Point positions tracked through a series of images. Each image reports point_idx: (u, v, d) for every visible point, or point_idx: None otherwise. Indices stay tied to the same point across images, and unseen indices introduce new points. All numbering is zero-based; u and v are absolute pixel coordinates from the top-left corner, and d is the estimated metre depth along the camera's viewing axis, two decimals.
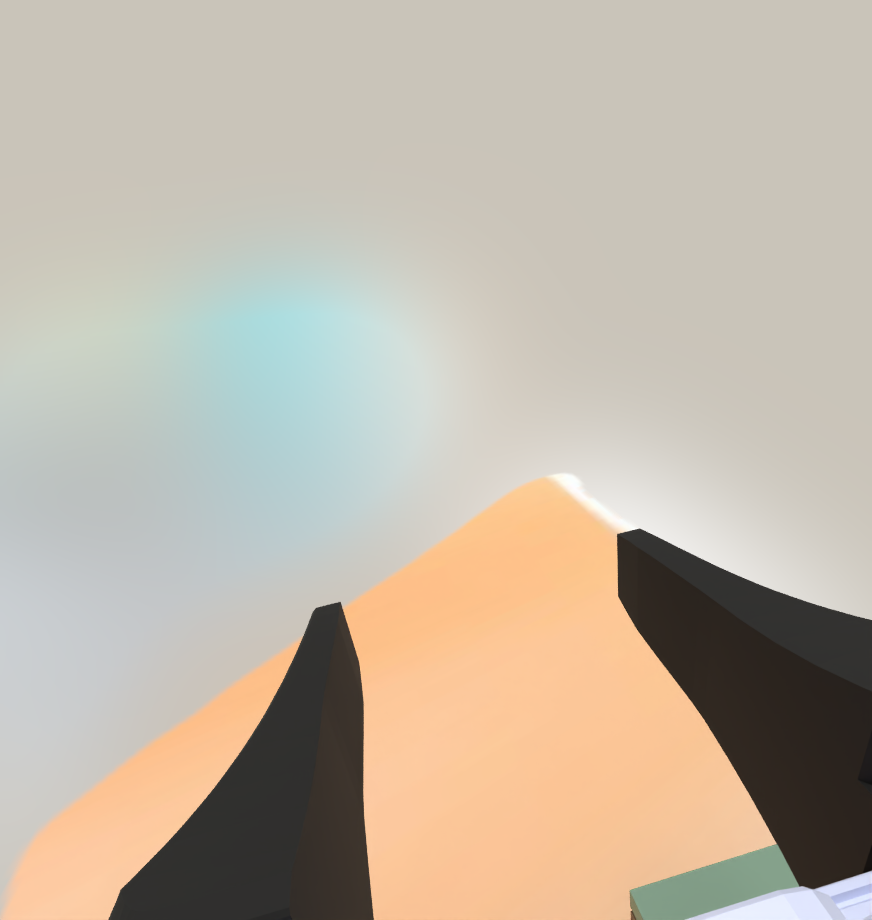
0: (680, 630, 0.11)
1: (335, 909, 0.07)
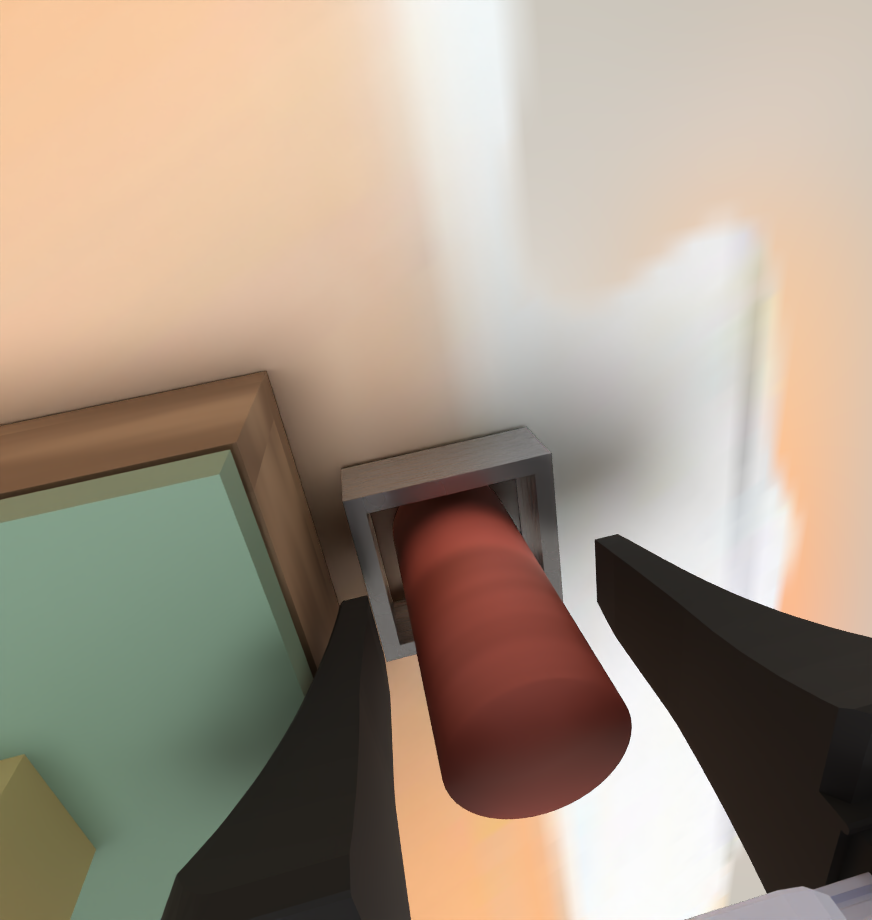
0: (654, 637, 0.11)
1: (382, 895, 0.07)
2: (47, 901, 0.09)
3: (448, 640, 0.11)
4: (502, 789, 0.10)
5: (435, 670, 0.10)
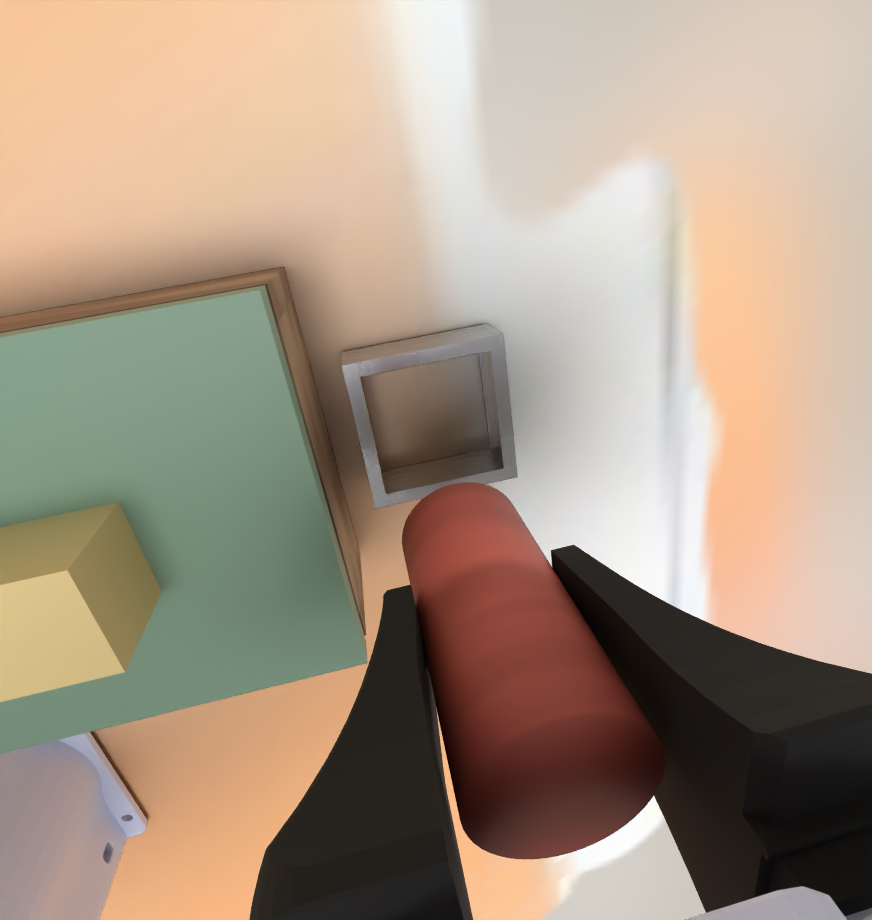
0: (604, 650, 0.11)
1: (457, 873, 0.07)
2: (135, 599, 0.14)
3: (465, 665, 0.10)
4: (524, 829, 0.09)
5: (451, 698, 0.10)
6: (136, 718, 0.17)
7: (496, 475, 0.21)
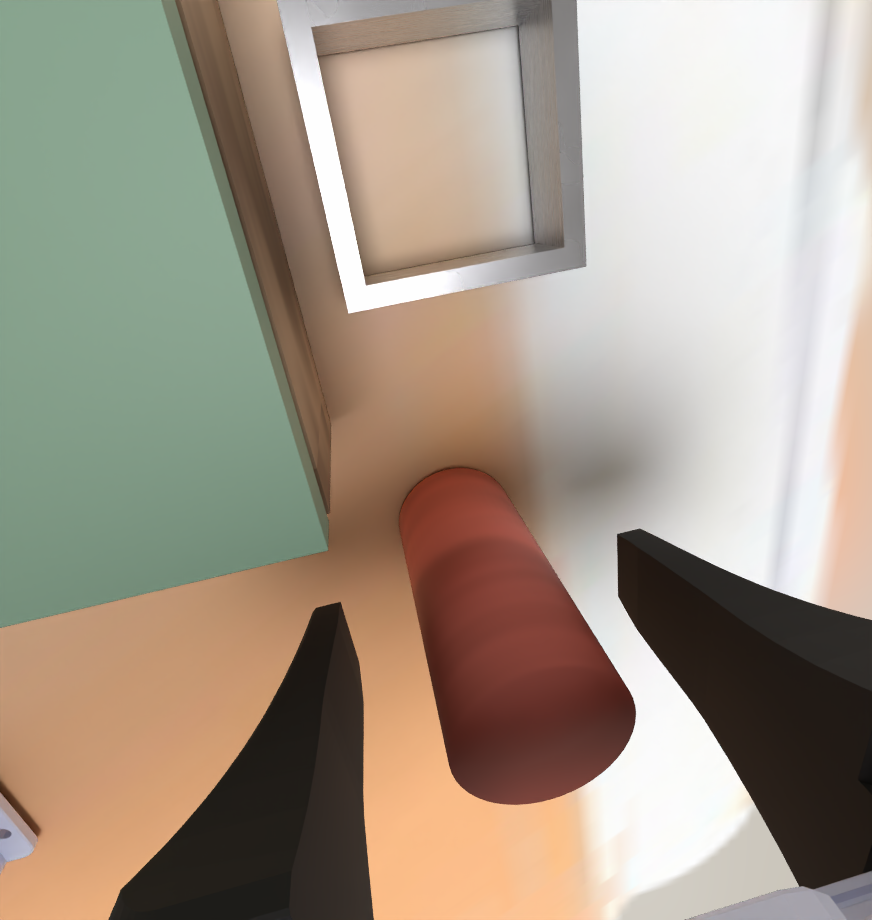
0: (680, 630, 0.11)
1: (335, 909, 0.07)
2: None
3: (455, 628, 0.11)
4: (507, 774, 0.10)
5: (442, 658, 0.11)
6: None
7: (551, 261, 0.12)
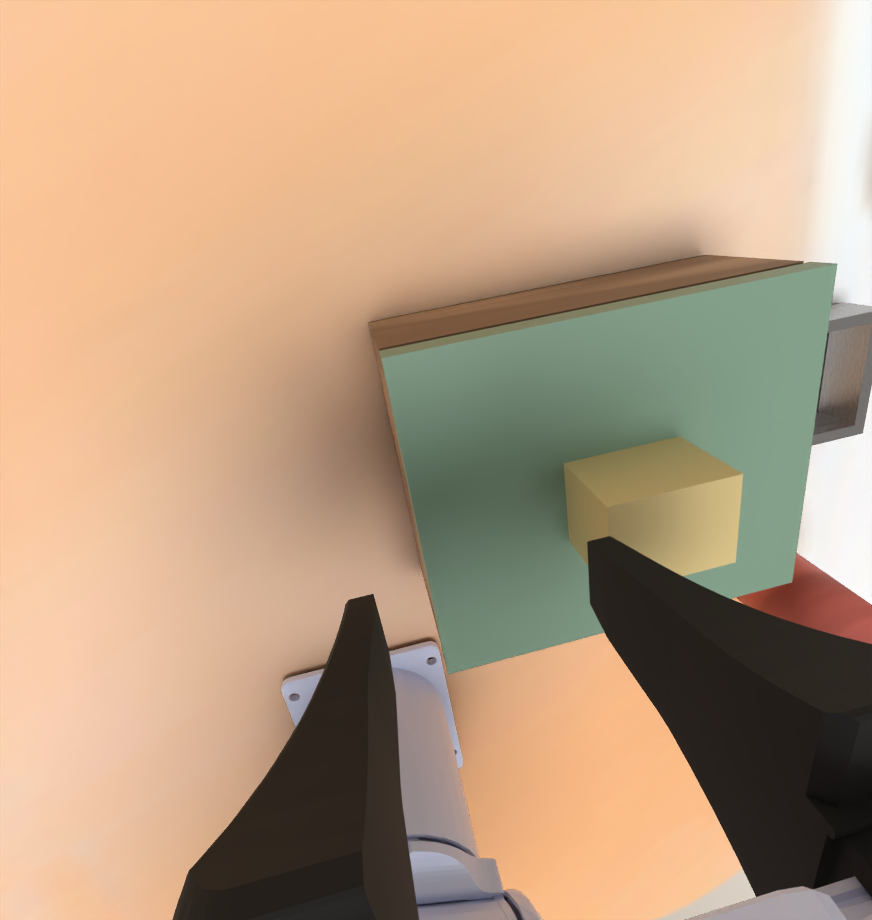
0: (645, 639, 0.11)
1: (392, 892, 0.07)
2: None
3: (825, 617, 0.22)
4: None
5: None
6: None
7: (847, 431, 0.24)
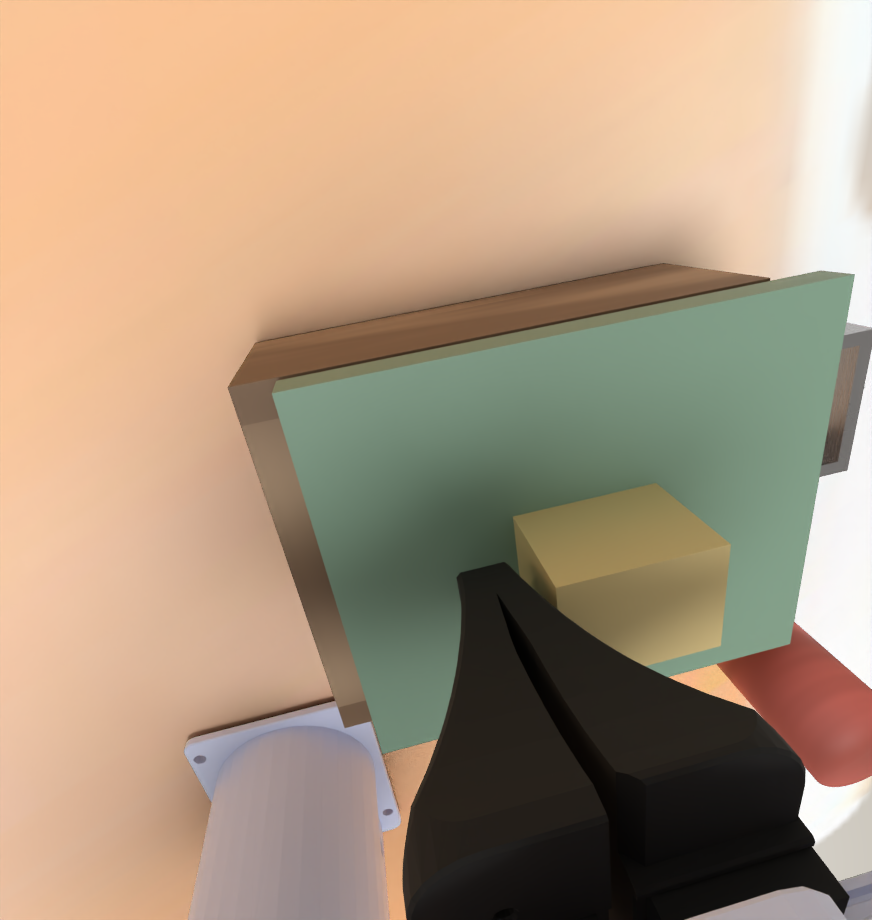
0: None
1: None
2: None
3: (797, 689, 0.19)
4: (837, 770, 0.19)
5: (791, 705, 0.19)
6: None
7: (829, 468, 0.21)
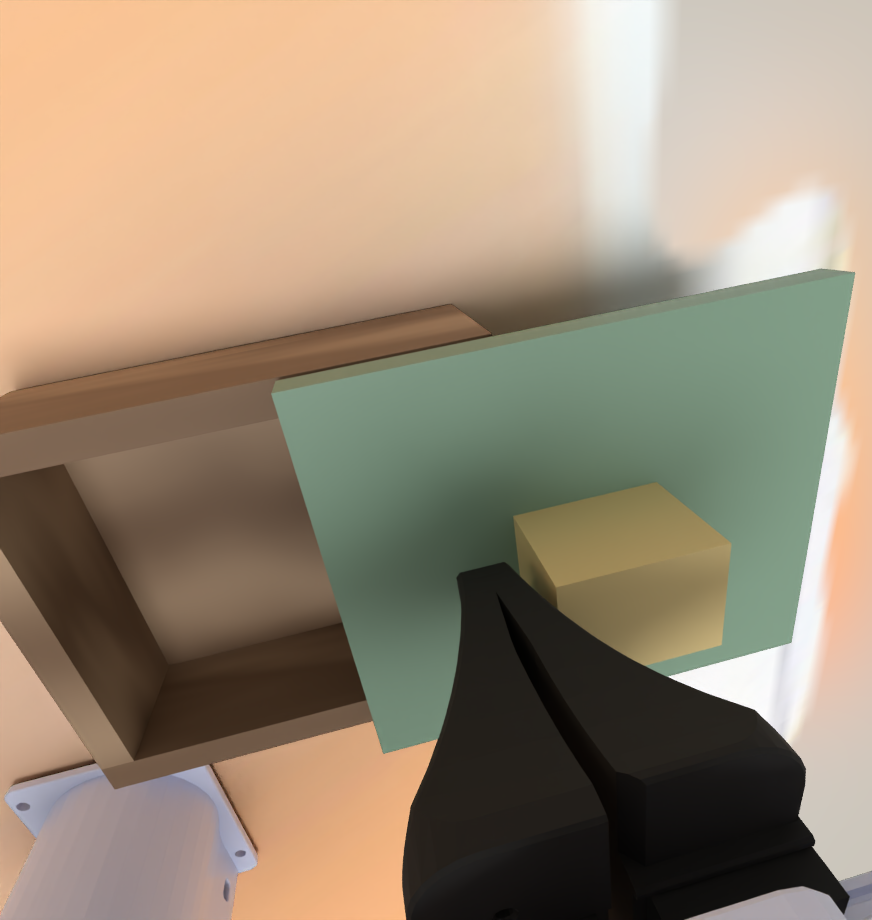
0: None
1: None
2: None
3: None
4: None
5: None
6: None
7: None
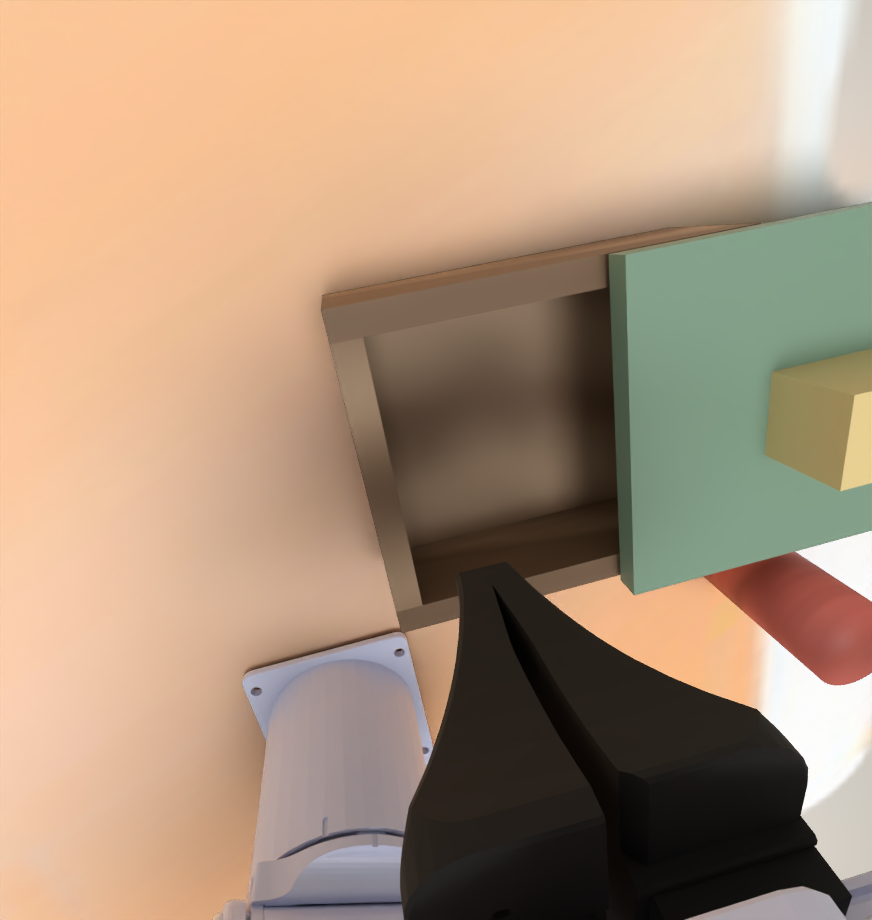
0: (524, 671, 0.11)
1: None
2: None
3: (798, 599, 0.22)
4: (837, 667, 0.21)
5: (794, 613, 0.22)
6: (793, 550, 0.21)
7: None
